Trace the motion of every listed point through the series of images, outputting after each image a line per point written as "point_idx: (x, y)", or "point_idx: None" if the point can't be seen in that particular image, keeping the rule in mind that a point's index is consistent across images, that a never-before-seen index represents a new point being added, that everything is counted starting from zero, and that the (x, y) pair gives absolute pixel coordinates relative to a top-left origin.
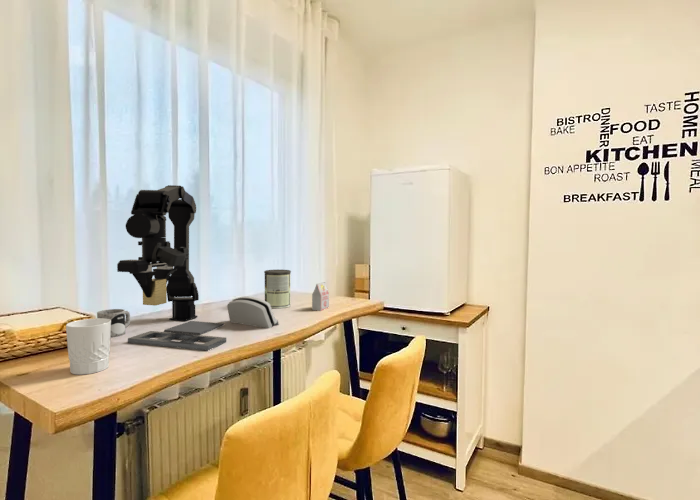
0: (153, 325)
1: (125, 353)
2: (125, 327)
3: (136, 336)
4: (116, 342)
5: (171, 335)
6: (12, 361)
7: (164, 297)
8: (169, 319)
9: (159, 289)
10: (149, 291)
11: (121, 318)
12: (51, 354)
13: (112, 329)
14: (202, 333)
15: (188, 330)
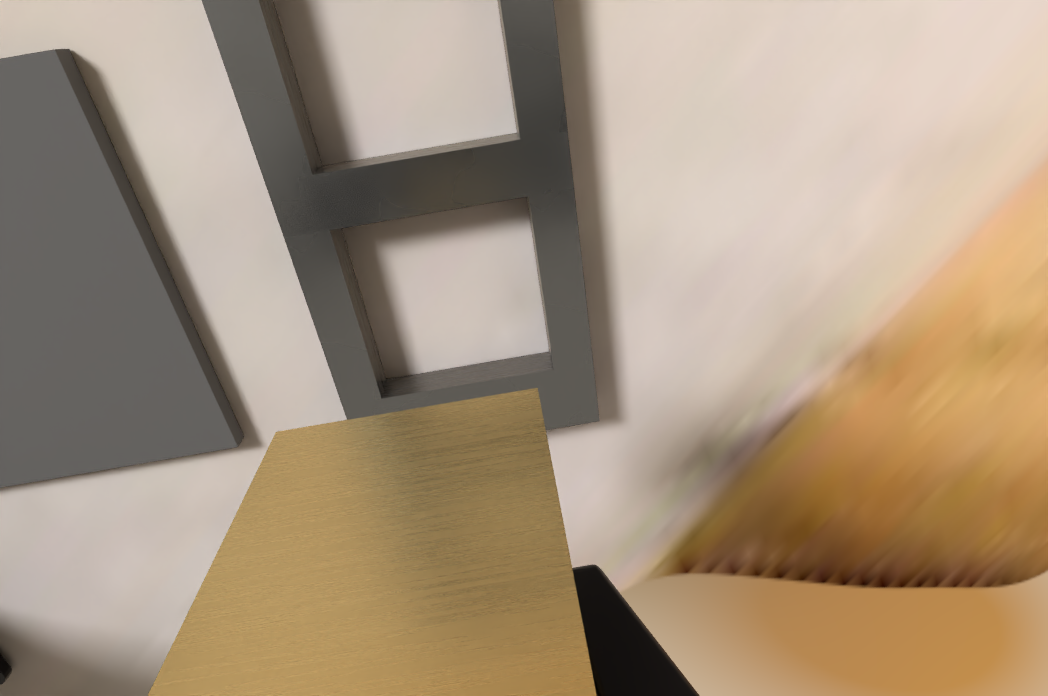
0: None
1: (810, 181)
2: None
3: None
4: (613, 469)
5: (362, 182)
6: (1036, 564)
7: (299, 494)
8: (9, 669)
9: (423, 639)
10: (655, 654)
11: None
12: (912, 534)
13: None
14: (20, 55)
15: (93, 250)
